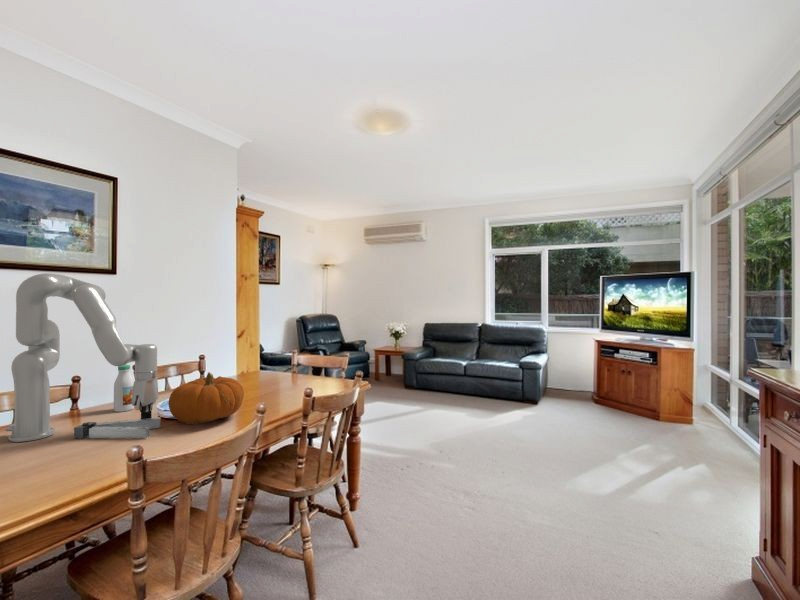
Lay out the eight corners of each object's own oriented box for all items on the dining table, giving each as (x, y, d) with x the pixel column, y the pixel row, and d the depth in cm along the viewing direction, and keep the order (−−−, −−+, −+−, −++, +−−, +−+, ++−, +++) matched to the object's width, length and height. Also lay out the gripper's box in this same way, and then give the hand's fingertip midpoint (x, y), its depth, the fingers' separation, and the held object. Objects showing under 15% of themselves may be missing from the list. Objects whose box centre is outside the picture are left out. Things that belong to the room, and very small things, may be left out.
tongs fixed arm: (74, 438, 144) (74, 426, 144) (88, 432, 150) (88, 420, 150) (144, 439, 144) (144, 426, 144) (155, 433, 150) (155, 421, 150)
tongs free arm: (95, 434, 148) (95, 424, 147) (97, 432, 150) (97, 422, 150) (159, 427, 155) (159, 418, 155) (160, 425, 157) (160, 417, 157)
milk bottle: (114, 413, 174) (114, 367, 174) (112, 409, 180) (112, 365, 180) (135, 410, 180) (135, 365, 179) (133, 406, 185) (133, 363, 185)
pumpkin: (237, 406, 186) (237, 364, 186) (250, 423, 163) (250, 374, 163) (167, 416, 171) (167, 369, 171) (170, 435, 148) (170, 381, 148)
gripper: (148, 371, 167) (148, 415, 167) (123, 379, 152) (123, 427, 152) (166, 371, 167) (166, 415, 167) (143, 379, 152) (143, 427, 152)
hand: (146, 421), depth 159 cm, fingers closed
